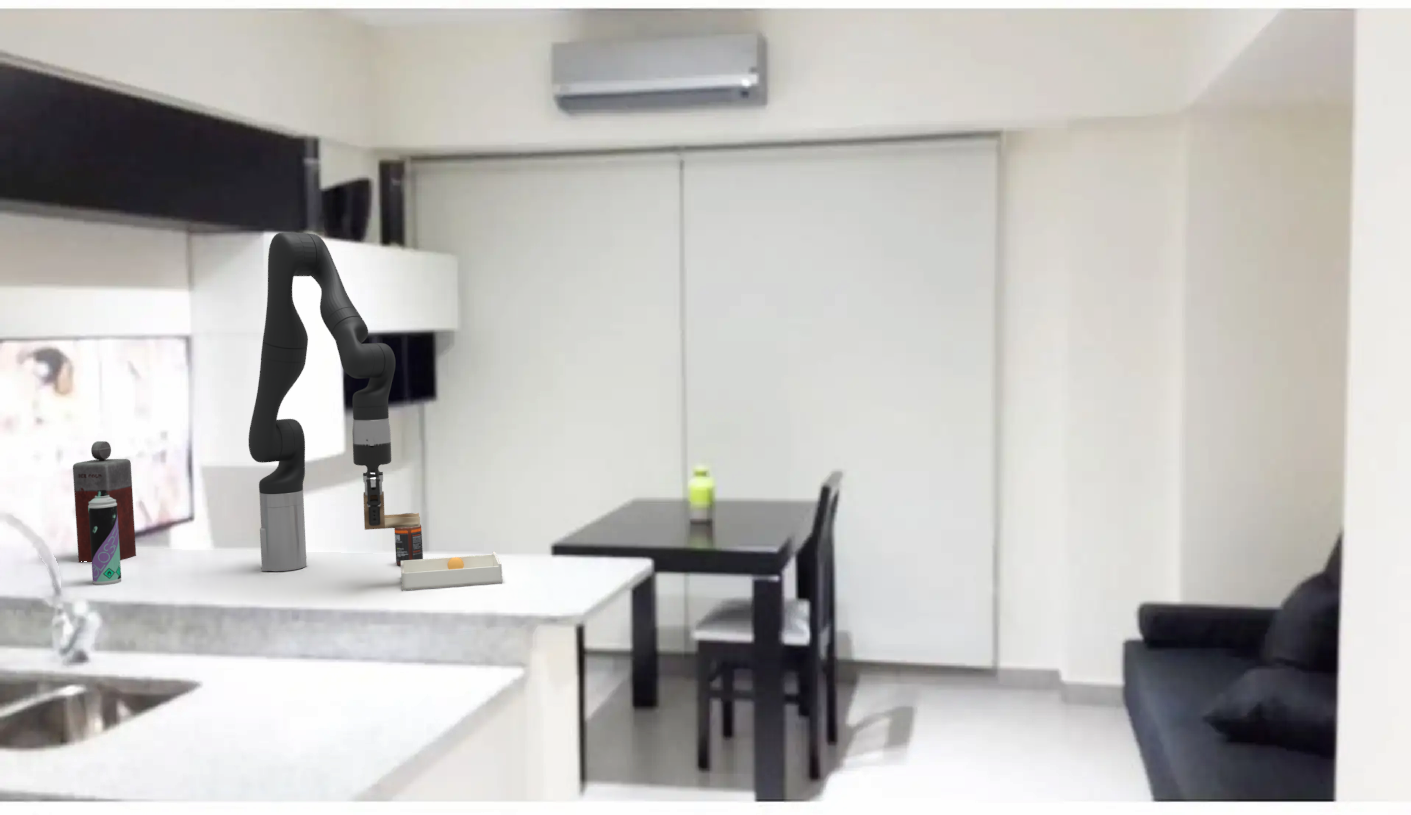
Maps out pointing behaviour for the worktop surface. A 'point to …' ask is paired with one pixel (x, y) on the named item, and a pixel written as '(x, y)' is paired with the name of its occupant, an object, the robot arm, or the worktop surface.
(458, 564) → the ball
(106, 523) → the spray can
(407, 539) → the supplement bottle
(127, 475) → the red and grey canister
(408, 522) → the scoop
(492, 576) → the tray
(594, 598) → the worktop surface
